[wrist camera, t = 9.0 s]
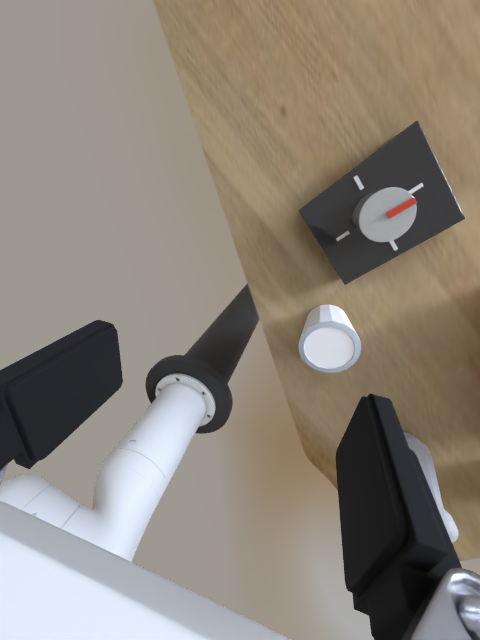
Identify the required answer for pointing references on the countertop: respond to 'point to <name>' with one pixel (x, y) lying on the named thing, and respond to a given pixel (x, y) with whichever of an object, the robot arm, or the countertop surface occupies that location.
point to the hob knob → (385, 214)
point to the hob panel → (375, 174)
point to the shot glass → (329, 340)
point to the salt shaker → (431, 481)
